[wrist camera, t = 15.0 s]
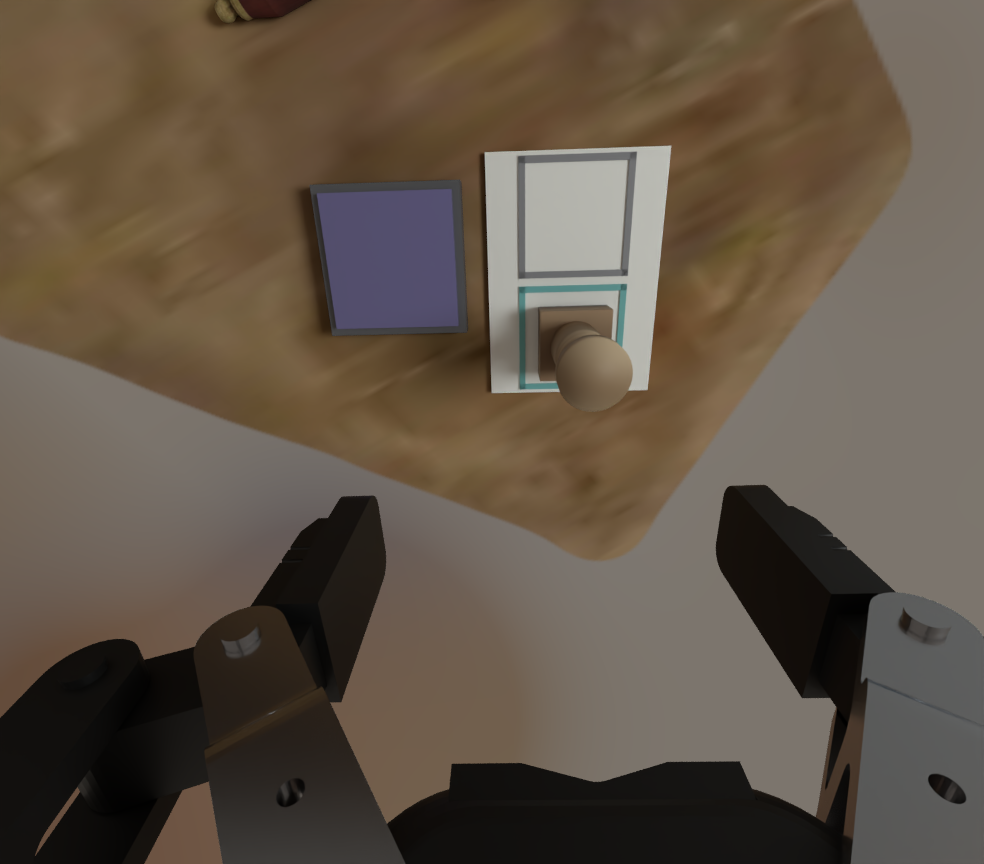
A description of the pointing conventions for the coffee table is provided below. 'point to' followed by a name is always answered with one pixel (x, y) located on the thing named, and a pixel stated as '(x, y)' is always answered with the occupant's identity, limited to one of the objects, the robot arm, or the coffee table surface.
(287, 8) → the gavel
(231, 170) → the coffee table surface
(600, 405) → the stamp
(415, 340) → the coffee table surface
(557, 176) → the sheet
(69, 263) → the coffee table surface
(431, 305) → the ink pad
